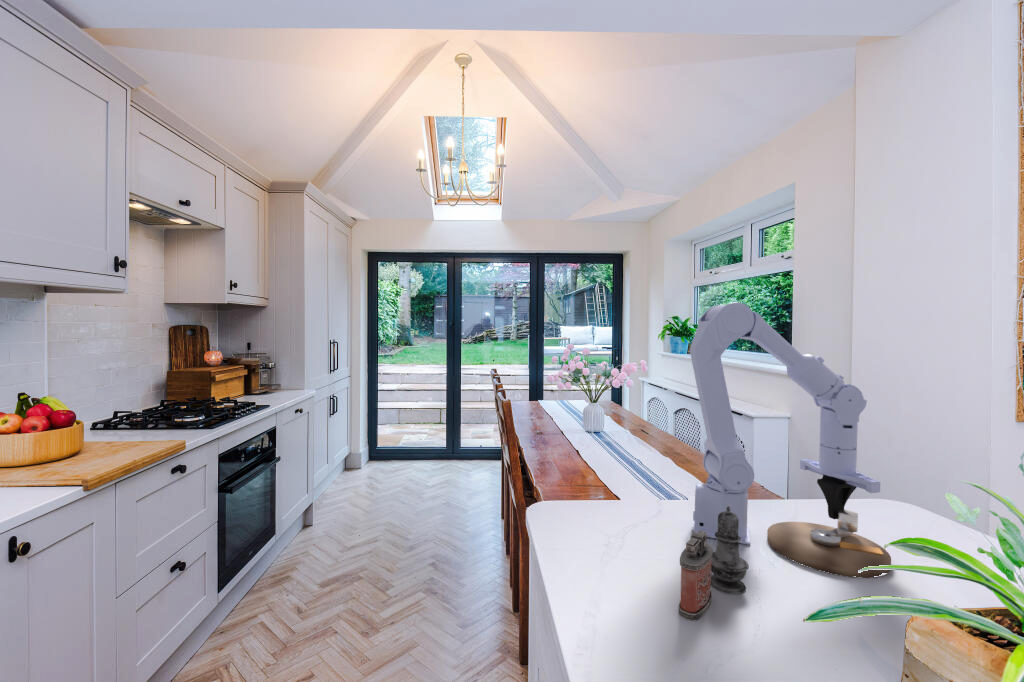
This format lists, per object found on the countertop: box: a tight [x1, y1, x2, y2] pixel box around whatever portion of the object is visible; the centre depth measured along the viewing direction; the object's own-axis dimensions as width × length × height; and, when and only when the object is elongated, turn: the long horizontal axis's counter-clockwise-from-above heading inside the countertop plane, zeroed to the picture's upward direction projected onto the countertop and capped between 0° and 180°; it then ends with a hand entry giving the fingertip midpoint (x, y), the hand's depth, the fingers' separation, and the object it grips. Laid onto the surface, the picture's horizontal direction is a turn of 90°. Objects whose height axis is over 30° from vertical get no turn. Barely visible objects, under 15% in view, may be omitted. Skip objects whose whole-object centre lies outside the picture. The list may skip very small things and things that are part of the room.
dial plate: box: [766, 521, 892, 579], centre depth 81 cm, size 18×18×2 cm
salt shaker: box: [711, 506, 750, 595], centre depth 69 cm, size 6×6×12 cm
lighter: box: [678, 531, 714, 622], centre depth 64 cm, size 8×3×10 cm, turn 141°
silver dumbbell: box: [811, 509, 859, 547], centre depth 82 cm, size 11×4×4 cm, turn 117°
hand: (835, 518), depth 86 cm, fingers closed
